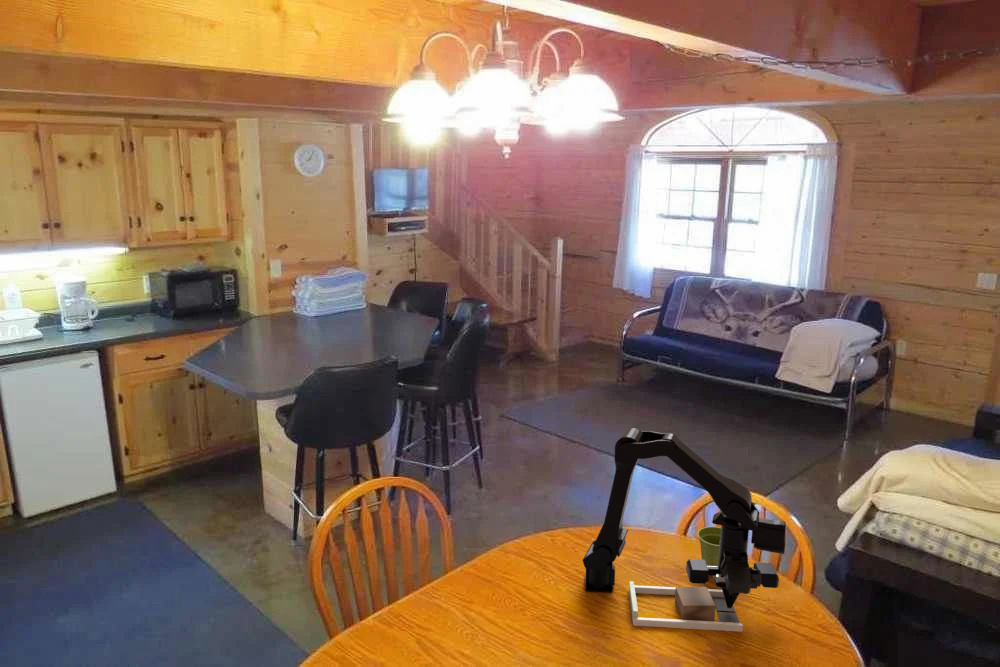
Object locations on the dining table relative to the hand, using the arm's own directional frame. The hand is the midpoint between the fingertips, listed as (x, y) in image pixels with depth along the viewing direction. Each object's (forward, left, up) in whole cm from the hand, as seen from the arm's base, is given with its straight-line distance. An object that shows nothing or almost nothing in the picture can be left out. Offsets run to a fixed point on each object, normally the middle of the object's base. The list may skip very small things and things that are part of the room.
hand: (728, 607), depth 154 cm
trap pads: (0, 0, -1) cm, 1 cm away
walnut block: (-7, 0, -2) cm, 8 cm away
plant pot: (+1, +18, -2) cm, 18 cm away
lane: (-10, 0, -1) cm, 10 cm away
